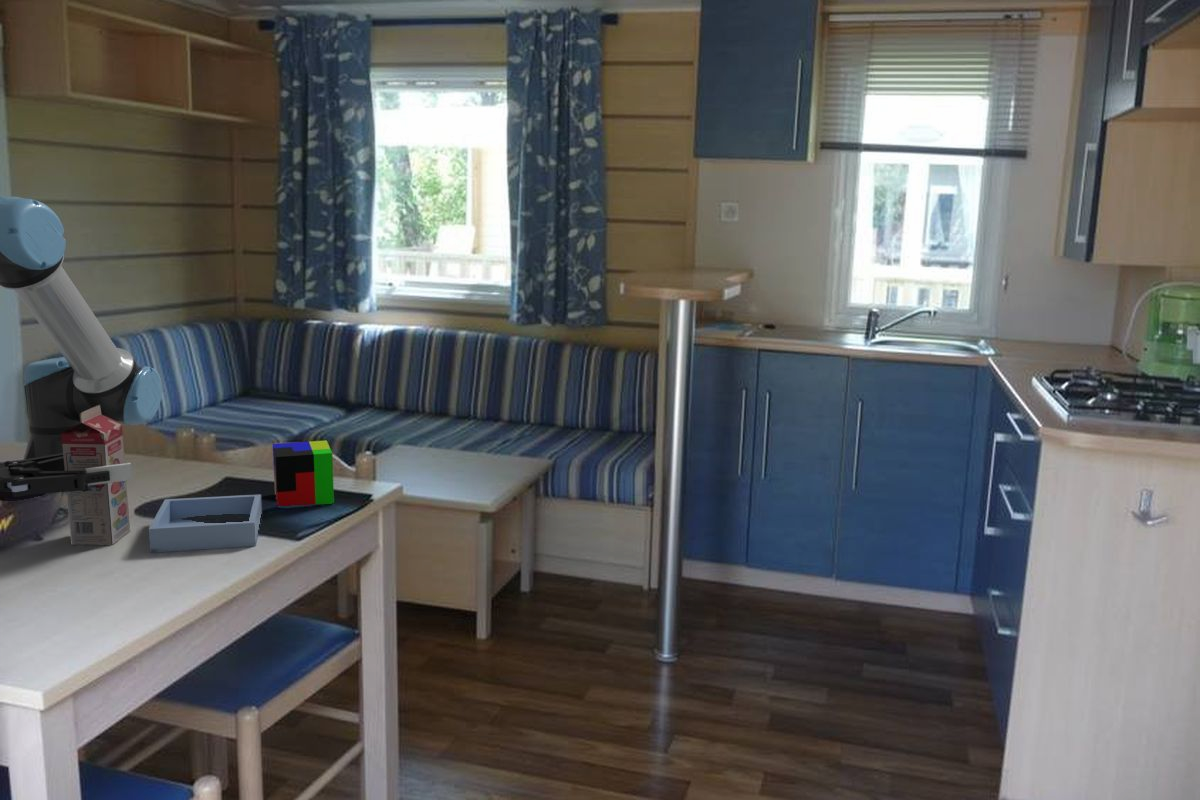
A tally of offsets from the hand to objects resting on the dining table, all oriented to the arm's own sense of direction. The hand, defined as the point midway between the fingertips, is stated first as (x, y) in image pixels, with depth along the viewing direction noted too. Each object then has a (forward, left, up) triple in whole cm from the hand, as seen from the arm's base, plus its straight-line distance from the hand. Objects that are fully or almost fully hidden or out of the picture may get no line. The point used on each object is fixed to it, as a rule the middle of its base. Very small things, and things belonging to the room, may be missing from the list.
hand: (125, 464), depth 166 cm
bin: (+3, +13, -12) cm, 18 cm away
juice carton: (+2, -4, -12) cm, 13 cm away
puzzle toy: (-14, +28, -12) cm, 34 cm away
